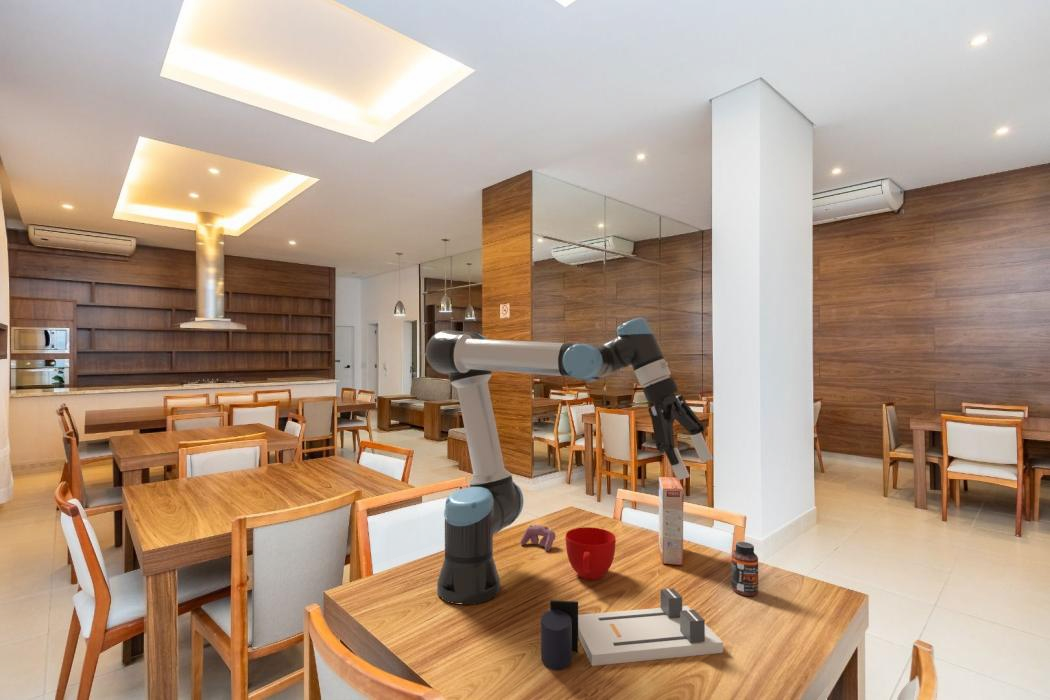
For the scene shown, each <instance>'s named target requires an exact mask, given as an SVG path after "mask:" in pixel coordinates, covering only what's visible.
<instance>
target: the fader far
mask: <svg viewBox="0 0 1050 700" xmlns="http://www.w3.org/2000/svg"><path fill="white" fill-rule="evenodd" d="M682 606H683V596H682V595H681V594H679V592H677V590H676V589H675V588H663V589H660V608H661V609H662V610H663V612H664V613H665V614H666V615H667V616H668V617H669V618H673V617H680V611H682Z"/></svg>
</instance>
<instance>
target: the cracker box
mask: <svg viewBox="0 0 1050 700" xmlns="http://www.w3.org/2000/svg"><path fill="white" fill-rule="evenodd" d="M684 490H685V489H683V486H682V484H681V482H680V480H677V478H676V477H671V476H659V477H658V550H659V554H660V558H661V559H660V560H661V564H662V565H673V566H684V492H685V491H684Z"/></svg>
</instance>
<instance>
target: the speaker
mask: <svg viewBox="0 0 1050 700" xmlns="http://www.w3.org/2000/svg"><path fill="white" fill-rule="evenodd" d="M549 603H550V605H549V606H550V609H549V610H547V611H543V613H542V616H541V617H540V651H541V652H540V657H541V658H540V659H541V662H542V663H543V664H544V666H545V667H546V668H547V669H551V670H554V671H563V670H564V669H566V668H568V667H570V665H571V663H572V660H573V653H579V637H578V615H579V601H574V600H573V601H572V600H554V599H553V600H552V599H550V602H549Z"/></svg>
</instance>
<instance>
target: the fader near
mask: <svg viewBox="0 0 1050 700" xmlns="http://www.w3.org/2000/svg"><path fill="white" fill-rule="evenodd" d="M705 621H706V620H705V619H704V617H702V616H701V615H700V614H699V613H698V612H697V610H695V609H691V610H683V611H680V631H681V633H682V634H683V635H684V636H685V637H686V638H687V640H688V641H689V642H690V643H692V642H702V641H705V624H706V622H705Z"/></svg>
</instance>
